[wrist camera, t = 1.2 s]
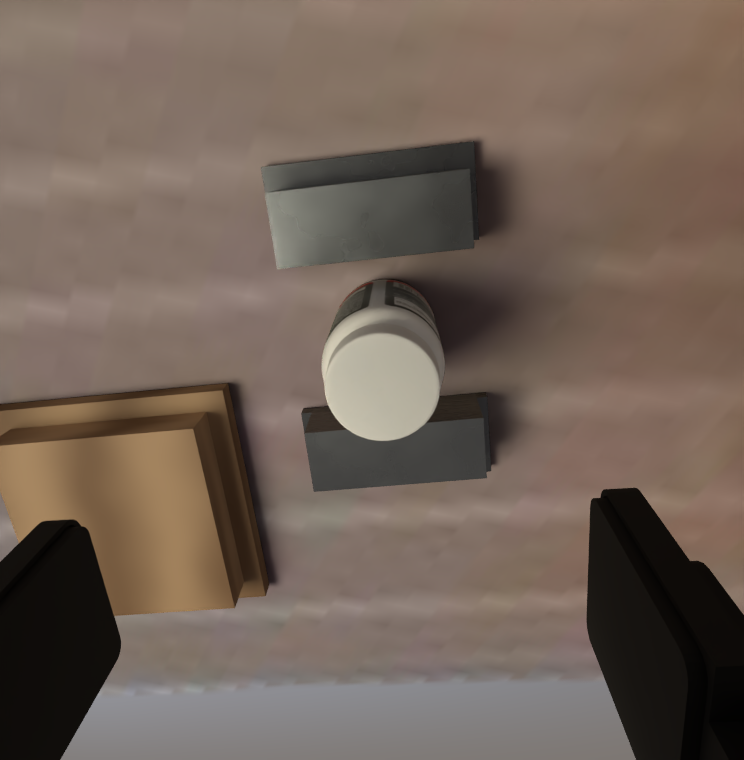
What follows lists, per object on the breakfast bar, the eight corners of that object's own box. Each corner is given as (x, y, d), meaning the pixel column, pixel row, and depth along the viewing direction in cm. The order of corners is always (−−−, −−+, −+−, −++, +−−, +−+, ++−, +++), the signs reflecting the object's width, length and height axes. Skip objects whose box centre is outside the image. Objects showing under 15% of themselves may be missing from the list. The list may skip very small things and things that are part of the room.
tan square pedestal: (228, 383, 30) (210, 406, 27) (269, 583, 34) (257, 622, 31) (-3, 404, 31) (-44, 429, 28) (64, 597, 35) (34, 636, 32)
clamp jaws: (472, 141, 26) (481, 139, 23) (489, 465, 31) (498, 496, 28) (263, 167, 26) (247, 167, 23) (314, 479, 31) (306, 510, 28)
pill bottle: (343, 380, 29) (323, 459, 22) (328, 284, 28) (300, 332, 20) (440, 369, 29) (456, 446, 21) (430, 271, 27) (444, 315, 20)
